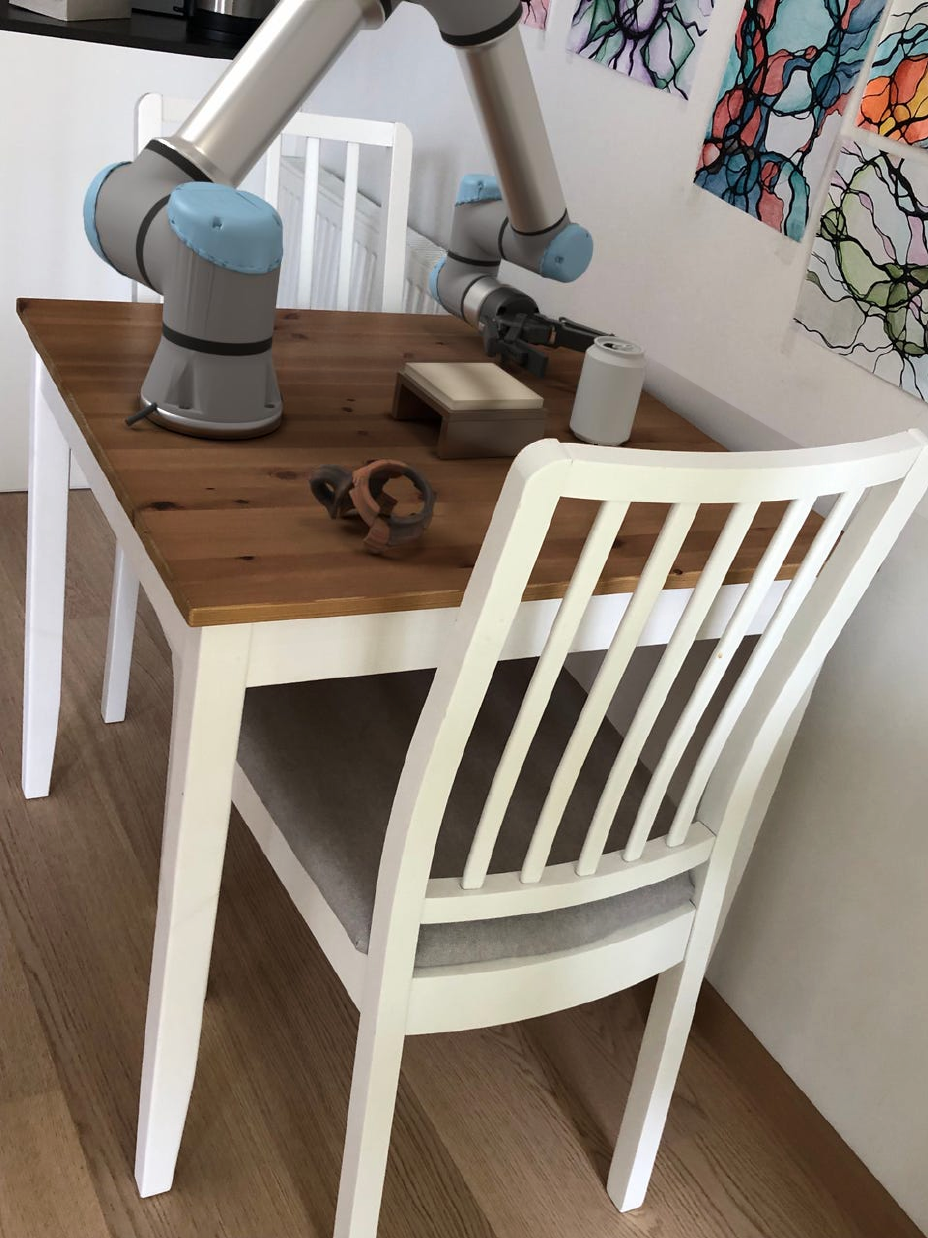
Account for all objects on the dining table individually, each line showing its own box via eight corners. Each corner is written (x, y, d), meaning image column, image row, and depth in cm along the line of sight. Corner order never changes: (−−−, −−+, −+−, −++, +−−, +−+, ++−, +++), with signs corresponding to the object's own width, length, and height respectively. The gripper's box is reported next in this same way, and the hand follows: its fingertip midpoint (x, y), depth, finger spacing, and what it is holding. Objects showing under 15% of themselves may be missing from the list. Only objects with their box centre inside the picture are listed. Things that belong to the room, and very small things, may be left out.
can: (570, 421, 156) (591, 328, 150) (629, 434, 155) (652, 341, 150) (565, 440, 149) (587, 344, 143) (626, 454, 149) (650, 358, 143)
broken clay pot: (418, 518, 123) (450, 469, 117) (401, 593, 118) (434, 546, 111) (304, 473, 120) (331, 421, 114) (282, 548, 115) (309, 497, 108)
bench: (441, 459, 137) (451, 402, 134) (390, 415, 146) (398, 360, 143) (539, 455, 143) (551, 400, 140) (484, 413, 153) (494, 360, 149)
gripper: (571, 340, 176) (660, 395, 160) (417, 339, 163) (498, 398, 148) (583, 288, 172) (675, 339, 157) (426, 282, 160) (510, 337, 144)
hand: (590, 367), depth 152 cm, fingers open, 13 cm apart
